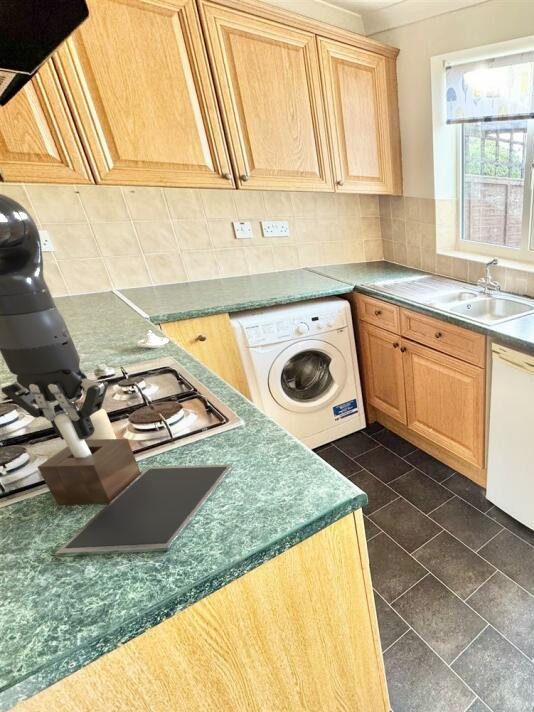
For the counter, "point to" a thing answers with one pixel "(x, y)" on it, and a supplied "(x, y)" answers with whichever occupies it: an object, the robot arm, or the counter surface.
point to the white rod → (71, 436)
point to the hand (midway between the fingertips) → (78, 436)
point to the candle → (101, 426)
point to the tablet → (149, 511)
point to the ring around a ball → (152, 341)
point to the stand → (91, 473)
